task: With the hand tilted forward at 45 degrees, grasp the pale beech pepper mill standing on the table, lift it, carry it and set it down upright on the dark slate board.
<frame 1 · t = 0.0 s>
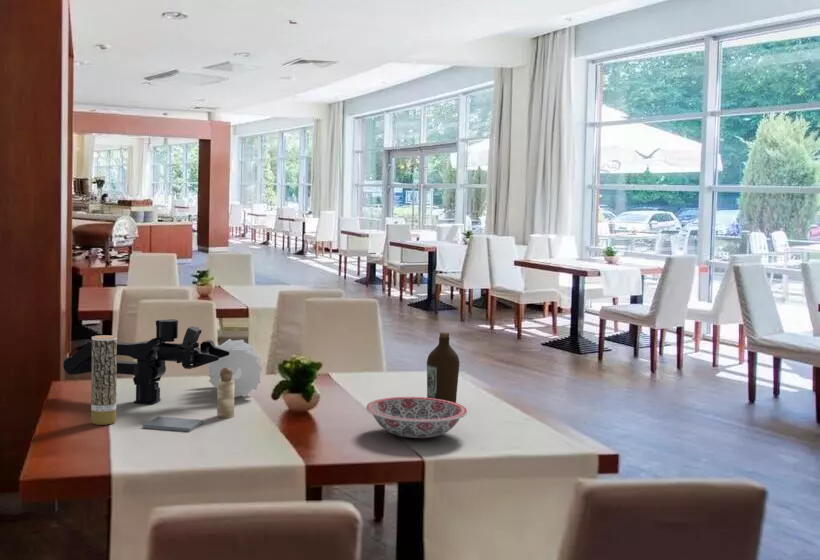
hand: (224, 355, 279), 17 cm above the table, tool horizontal, fingers open, 9 cm apart
ceramic bowl: (415, 435, 257), on the table
pepper mill: (225, 416, 270), on the table
spiral staircase: (234, 393, 303), on the table
paper tube: (103, 423, 257), on the table
olive oil: (440, 409, 291), on the table
slate board: (173, 425, 257), on the table
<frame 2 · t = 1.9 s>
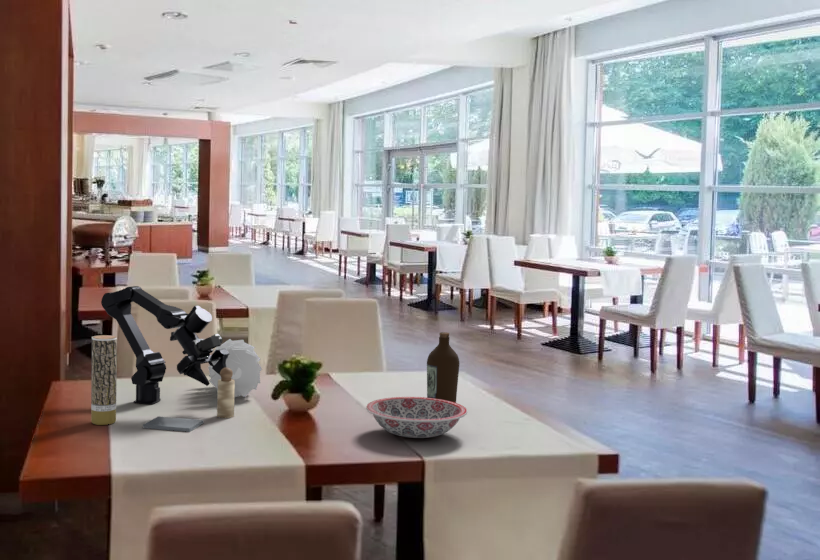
hand: (218, 382, 270), 10 cm above the table, tool tilted 45°, fingers open, 9 cm apart
nothing on the table moved.
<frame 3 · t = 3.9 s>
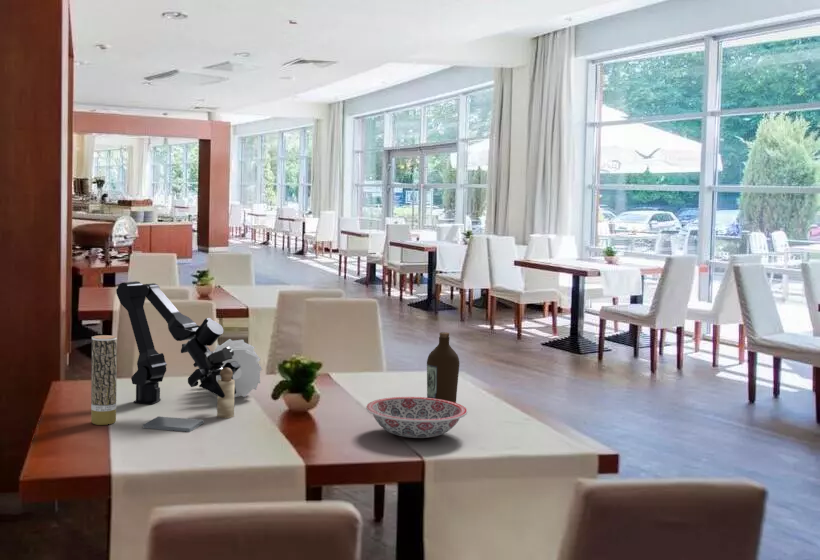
hand: (229, 395, 269), 7 cm above the table, tool tilted 45°, fingers closed on pepper mill, 5 cm apart
pepper mill: (225, 416, 270), on the table, touching gripper
everything else where it was.
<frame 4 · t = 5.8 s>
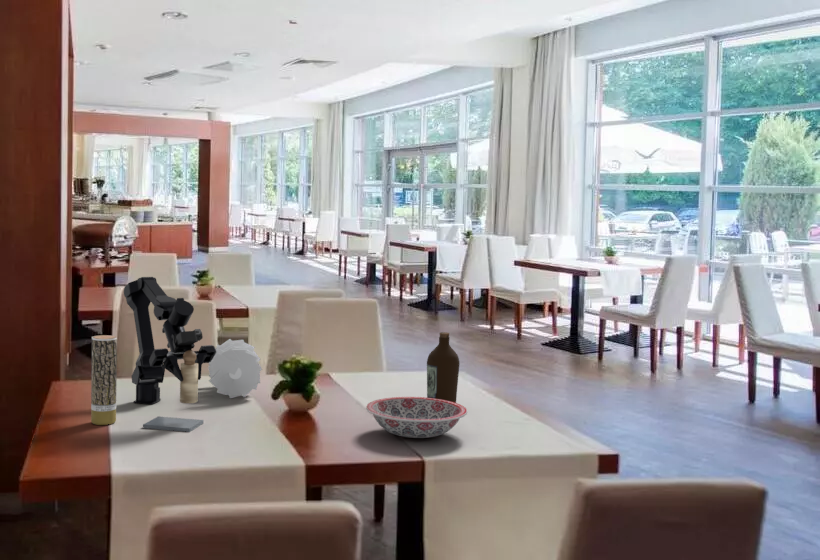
hand: (191, 379, 257), 13 cm above the table, tool tilted 45°, fingers closed on pepper mill, 5 cm apart
pepper mill: (188, 401, 258), point 7 cm above the table, touching gripper
everything else where it was.
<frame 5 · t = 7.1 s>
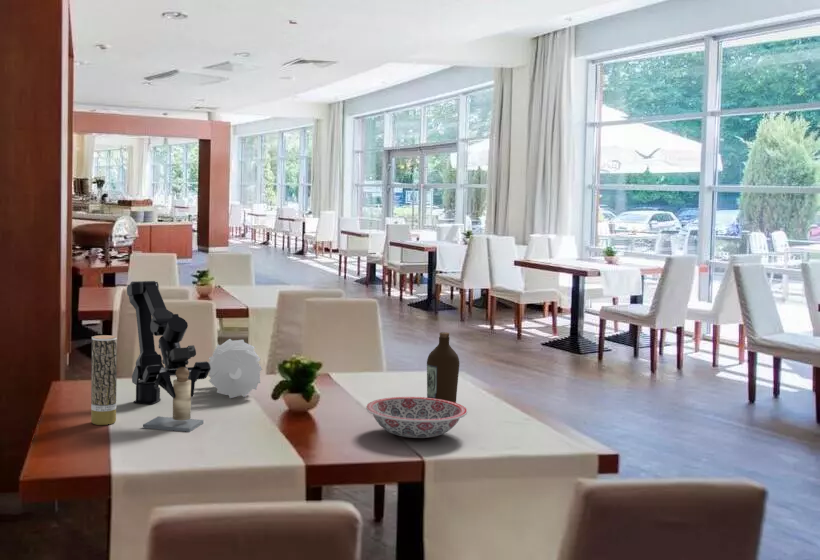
hand: (183, 396, 256), 9 cm above the table, tool tilted 45°, fingers closed on pepper mill, 5 cm apart
pepper mill: (181, 418, 257), point 2 cm above the table, touching gripper
everything else where it was.
when the fingers open (9 cm above the table, at t = 7.9 s): pepper mill stays where it is, resting on slate board.
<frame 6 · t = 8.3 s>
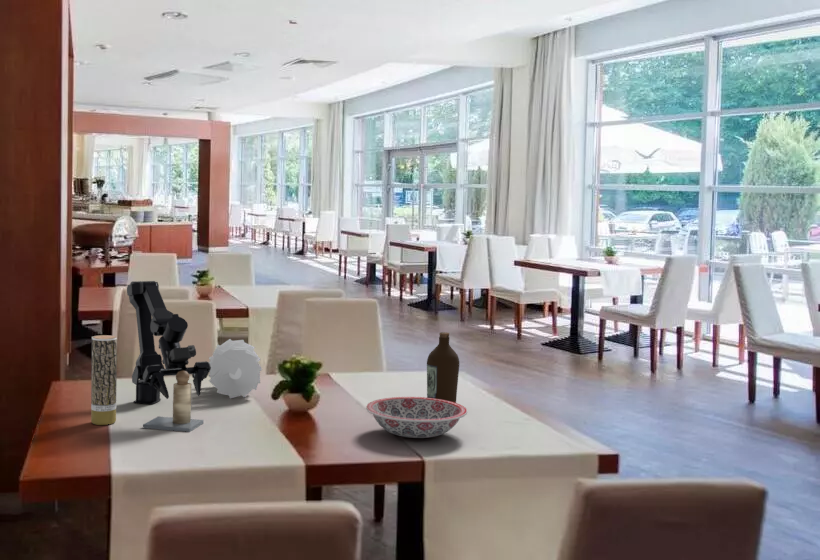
hand: (183, 396, 256), 9 cm above the table, tool tilted 45°, fingers open, 9 cm apart
pepper mill: (181, 421, 257), point 1 cm above the table, touching slate board
everything else where it was.
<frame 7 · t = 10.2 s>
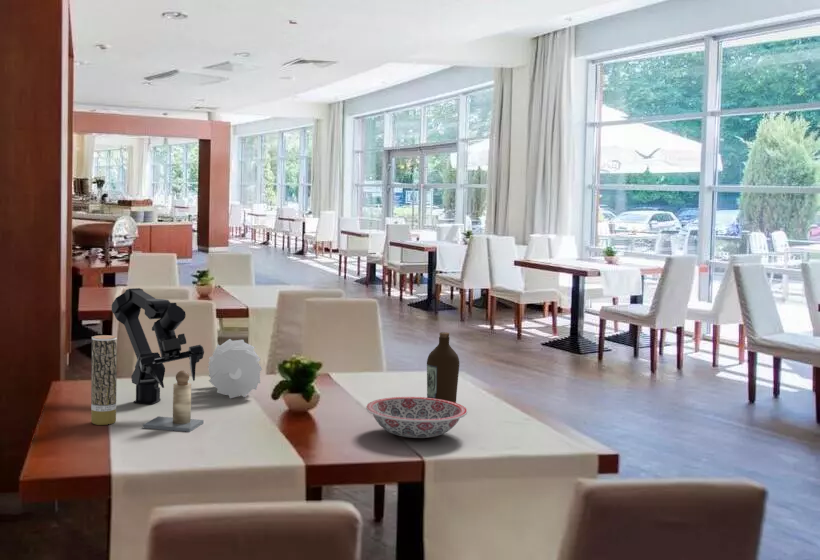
hand: (178, 383, 267), 10 cm above the table, tool tilted 35°, fingers open, 9 cm apart
nothing on the table moved.
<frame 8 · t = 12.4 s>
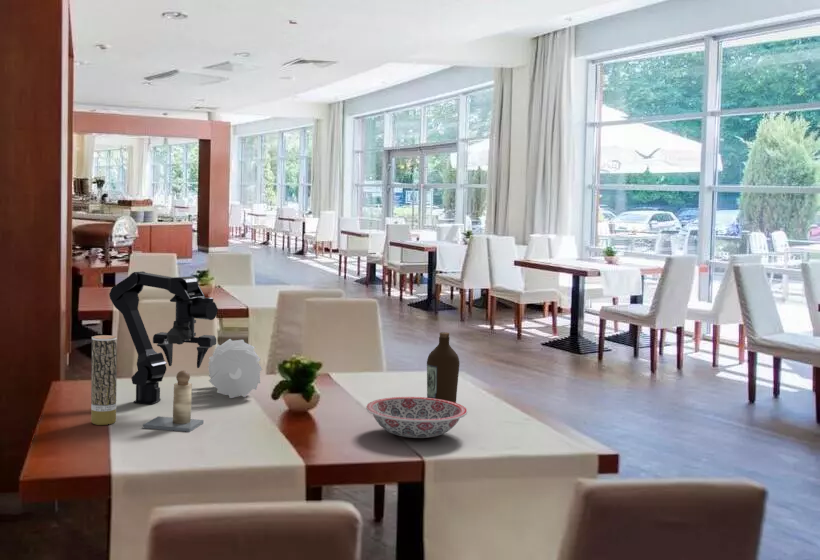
hand: (184, 366, 277), 13 cm above the table, tool pointing down, fingers open, 9 cm apart
nothing on the table moved.
at the end: pepper mill inside the target area on the slate board (2.2 cm from its centre), point 1.1 cm above the slate board's base; pepper mill tilted 1°; the gripper is holding nothing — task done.
